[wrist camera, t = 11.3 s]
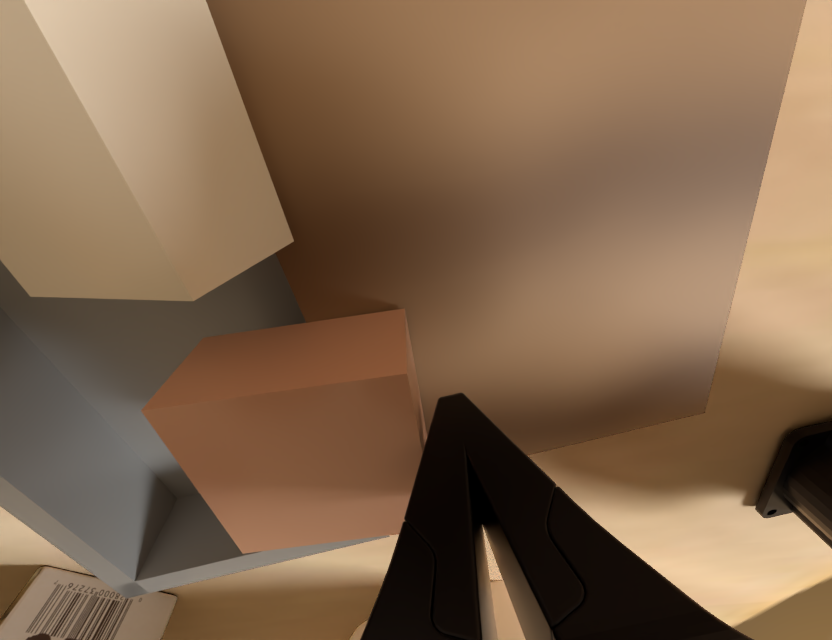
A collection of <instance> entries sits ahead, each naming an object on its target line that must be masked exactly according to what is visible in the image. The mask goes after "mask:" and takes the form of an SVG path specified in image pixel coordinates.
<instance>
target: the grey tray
mask: <svg viewBox="0 0 832 640" xmlns="http://www.w3.org/2000/svg"><path fill="white" fill-rule="evenodd" d="M301 323H306V321H305V319H304V316H303V314H302V312H301V310H300V307H299V305H298V303H297V301H296V298H295V296H294V294H293V292H292V289H291V287H290V285H289V283H288V280H287V278H286V276H285V274H284V271H283V269H282V267H281V265H280V262H279V260H278V258H277V256H276V253H274V254H272V255H270V256H268V257H267V258H265V259H263V260H262V261H260V262H258V263H257V264H255V265H253V266H252V267H250V268H248V269H247V270H245V271H243V272H242V273H240V274H238V275H237V276H235V277H233V278H231V279H230V280H228V281H226V282H225V283H223V284H221V285H220V286H218V287H216V288H215V289H213V290H211V291H210V292H208V293H206V294H205V295H203V296H201V297H200V298H198V299H196V300H195V301H166V300H131V299H96V298H61V297H30V296H29V294H28V293H27V292H26V291H25V289H24V288H23V287H22V286H21V285H20V283H19V282H18V281H17V280H16V278H15V277H14V276H13V275H12V274H11V272H10V271H9V270H8V269H7V267H6V266H5V265H4V264H3V263H2V261H1V260H0V506H1V507H2V508H4V509H5V510H6V511H8V512H9V513H10V514H12V515H13V516H15V517H16V518H17V519H19V520H20V521H21V522H23V523H24V524H25V525H27V526H28V527H30V528H31V529H32V530H34V531H35V532H36V533H38V534H39V535H40V536H42V537H43V538H44V539H46V540H47V541H49V542H50V543H51V544H53V545H54V546H55V547H57V548H58V549H59V550H61V551H62V552H63V553H65V554H66V555H68V556H69V557H70V558H72V559H73V560H74V561H76V562H77V563H78V564H80V565H81V566H83V567H84V568H85V569H87V570H88V571H89V572H91V573H92V574H93V575H95V576H96V577H97V578H99V579H100V580H102V581H103V582H104V583H106V584H107V585H108V586H110V587H111V588H112V589H114V590H115V591H117V592H118V593H119V594H121V595H122V596H123V597H125V598H126V599H127V598H131V597H136V596H140V595H144V594H148V593H153V592H157V591H161V590H165V589H169V588H174V587H178V586H182V585H186V584H191V583H195V582H199V581H203V580H208V579H212V578H216V577H220V576H224V575H229V574H233V573H237V572H241V571H246V570H250V569H254V568H258V567H263V566H267V565H271V564H275V563H279V562H284V561H288V560H292V559H296V558H301V557H305V556H309V555H313V554H318V553H322V552H326V551H330V550H334V549H339V548H343V547H347V546H351V545H356V544H360V543H364V542H368V541H372V540H377V539H381V538H385V537H389V536H390V535H387V536H379V537H371V538H363V539H355V540H347V541H339V542H331V543H323V544H316V545H308V546H300V547H292V548H284V549H276V550H268V551H260V552H252V553H244V554H243V553H242V552H241V551H240V549H239V548H238V546H237V545H236V544H235V542H234V541H233V539H232V538H231V536H230V535H229V534H228V532H227V531H226V529H225V528H224V527H223V525H222V524H221V522H220V521H219V520H218V518H217V517H216V515H215V514H214V513H213V511H212V510H211V508H210V507H209V506H208V504H207V503H206V501H205V500H204V499H203V497H202V496H201V494H200V493H199V492H198V490H197V489H196V487H195V486H194V485H193V483H192V482H191V480H190V479H189V478H188V476H187V475H186V473H185V472H184V471H183V469H182V468H181V466H180V465H179V463H178V462H177V461H176V459H175V458H174V456H173V455H172V454H171V452H170V451H169V449H168V448H167V447H166V445H165V444H164V442H163V441H162V440H161V438H160V437H159V435H158V434H157V433H156V431H155V430H154V428H153V427H152V426H151V424H150V423H149V421H148V420H147V419H146V417H145V416H144V414H143V413H142V412H141V410H142V409H143V407H144V406H145V405H146V404H147V403H148V402H149V400H150V399H151V398H152V397H153V396H154V395H155V393H156V392H157V391H158V390H159V389H160V388H161V386H162V385H163V384H164V383H165V382H166V381H167V379H168V378H169V377H170V376H171V375H172V374H173V372H174V371H175V370H176V369H177V368H178V367H179V365H180V364H181V363H182V362H183V361H184V360H185V358H186V357H187V356H188V355H189V354H190V353H191V351H192V350H193V349H194V348H195V347H196V346H197V344H198V343H199V342H200V341H201V340H202V339H203V338H205V337H211V336H218V335H225V334H232V333H239V332H246V331H253V330H260V329H267V328H273V327H280V326H287V325H294V324H301Z"/></svg>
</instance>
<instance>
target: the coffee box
mask: <svg viewBox="0 0 832 640" xmlns="http://www.w3.org/2000/svg"><path fill="white" fill-rule="evenodd" d="M176 601H177V597H176V596H174V595H170V594H166V593H162V592H158V591H157V592H153V593H148V594H144V595H140V596H136V597H131V598H127V599H126V598H125V597H123V596H122V595H121V594H119V593H118V592H117V591H115V590H114V589H112V588H111V587H110V586H108V585H107V584H106V583H104V582H103V581H102V580H100V579H99V578H96V577H92V576H88V575H83V574H79V573H74V572H70V571H66V570H62V569H57V568H53V567H48V566H47V567H41V568H39V569H38V570H37V571H36V572H35V573H34V575H33V576H32V577H31V579H30V580H29V581H28V583H27V584H26V585H25V587H24V588H23V589H22V591H21V592H20V593H19V595H18V596H17V597H16V599H15V600H14V601H13V603H12V604H11V605H10V607H9V608H8V609H7V611H6V612H5V613H4V615H3V616H2V617H1V619H0V640H161V639H162V636H163V634H164V631H165V629H166V626H167V624H168V621H169V619H170V616H171V614H172V611H173V609H174V606H175V604H176Z"/></svg>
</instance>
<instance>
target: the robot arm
mask: <svg viewBox="0 0 832 640" xmlns="http://www.w3.org/2000/svg"><path fill="white" fill-rule="evenodd" d="M756 510H757V512H758V513H759V514H760V515H761V516H762V517H763V518H770V517H775V516H779V515H783V514H788V513H792V512H794V513H795V514H796V515H797V516H798V517H799V518H800V519H801V520H802V521H803V522H804V523H805V524H806V525H807V526H808V527H809V528H811V529H812V530H813V531H814V532H815V533H816V534H817V535H818V536H819V537H820V538H821V539H822V540H823V541H824V542H825V543H826V544H828V545H829V546H830V547H831V548H832V421H830V422H826V423H822V424H818V425H813V426H809V427H805V428H801V429H797V430H794V431H793V432H791V433H790V434H788V435H787V436H786V438H785V439H784V442H783V444H782V446H781V449H780V451H779V454H778V456H777V458H776V461H775V463H774V465H773V468H772V470H771V472H770V475H769V477H768V480H767V482H766V484H765V487H764V489H763V491H762V494H761V496H760V498H759V501H758V503H757V505H756ZM404 520H405V521H404V522H403V523H402V526H401V530H400V533H399V537H398V540H397V543H396V547H395V550H394V553H393V556H392V559H391V562H390V565H389V568H388V571H387V573H386V576H385V579H384V581H383V584H382V587H381V589H380V592H379V594H378V597H377V599H376V602H375V604H374V607H373V609H372V612H371V614H370V617H369V619H368V621H367V624H366V626H365V629H364V631H363V634H362V636H361V638H360V640H498V636H497V629H496V621H495V614H494V607H493V599H492V592H491V585H490V577H489V570H488V563H487V555H486V548H485V541H484V533H483V527H484V530H485V533H486V535H487V538H488V541H489V543H490V546H491V549H492V551H493V554H494V557H495V559H496V562H497V565H498V567H499V570H500V573H501V575H502V578H503V581H504V583H505V586H506V589H507V591H508V594H509V597H510V599H511V602H512V605H513V607H514V610H515V613H516V615H517V618H518V621H519V623H520V626H521V629H522V631H523V634H524V637H525V639H526V640H754V639H752V638H750V637H748V636H746V635H744V634H742V633H740V632H739V631H737V630H735V629H734V628H732V627H731V626H729V625H727V624H726V623H724V622H723V621H721V620H719V619H718V618H717V617H715V616H714V615H712V614H711V613H710V612H708V611H707V610H705V609H704V608H703V607H701V606H700V605H699V604H698V603H696V602H695V601H694V600H692V599H691V598H690V597H689V596H687V595H686V594H685V593H684V592H682V591H681V590H680V589H679V588H677V587H676V586H675V585H673V584H672V583H671V582H670V581H668V580H667V579H666V578H665V577H663V576H662V575H661V574H660V573H658V572H657V571H656V570H655V569H653V568H652V567H651V566H650V565H648V564H647V563H646V562H645V561H643V560H642V559H641V558H640V557H638V556H637V555H636V554H635V553H633V552H632V551H631V550H630V549H628V548H627V547H626V546H625V545H623V544H622V543H621V542H620V541H618V540H617V539H616V538H615V537H614V536H613V535H611V534H610V533H609V532H608V531H607V530H605V529H604V528H603V527H602V526H601V525H599V524H598V523H597V522H596V521H595V520H593V519H592V518H591V517H590V516H589V515H588V514H587V513H586V512H585V511H584V510H583V509H582V508H581V507H579V506H578V505H577V504H576V503H575V502H574V501H573V500H572V499H571V498H570V497H569V496H568V495H567V494H566V493H565V492H564V491H563V490H562V489H561V488H560V487H556V484H555V483H554V482H553V481H552V480H551V479H550V478H549V477H548V476H547V475H546V474H545V473H544V472H543V471H542V470H541V469H540V468H539V467H538V466H537V465H536V464H535V463H534V462H533V461H532V460H531V459H530V458H529V457H528V456H527V455H526V454H525V453H524V452H523V451H522V450H521V449H520V448H519V447H518V446H517V445H516V444H515V443H514V442H513V441H512V440H511V439H510V438H509V437H508V436H507V435H506V434H505V433H503V432H502V431H501V430H500V429H499V428H498V427H497V426H496V425H495V424H494V423H493V422H492V421H491V420H490V419H489V418H488V417H487V416H486V415H485V414H484V413H483V412H482V411H481V410H480V409H479V408H478V407H477V406H476V405H475V404H474V403H473V402H472V401H471V400H470V399H469V398H468V397H467V396H466V395H465V394H464V393H456V394H452V395H447V396H443V397H440V398H439V399H438V401H437V404H436V408H435V411H434V415H433V418H432V422H431V425H430V429H429V432H428V436H427V439H426V443H425V446H424V450H423V453H422V457H421V460H420V464H419V467H418V471H417V474H416V478H415V481H414V485H413V488H412V492H411V495H410V499H409V502H408V506H407V509H406V513H405V516H404ZM482 525H483V526H482Z"/></svg>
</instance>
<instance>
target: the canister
mask: <svg viewBox="0 0 832 640" xmlns="http://www.w3.org/2000/svg"><path fill="white" fill-rule="evenodd" d="M490 585H491V592H492V599H493V607H494V614H495V621H496V629H497V636H498V640H526V639H525V637H524V634H523V631H522V629H521V626H520V623H519V621H518V618H517V615H516V613H515V610H514V607H513V605H512V602H511V599H510V597H509V594H508V591H507V589H506V586H505V583H504V581H503V580H500V581H490ZM367 621H368V620H366V621H365V622H364V623H362V624H361V625H359V626H358V627H357V628H356V630H355V631H354V633H353V634H352V636H351V637H350V639H349V640H360V638H361V636H362V634H363V631H364V629H365V626H366V624H367Z"/></svg>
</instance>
